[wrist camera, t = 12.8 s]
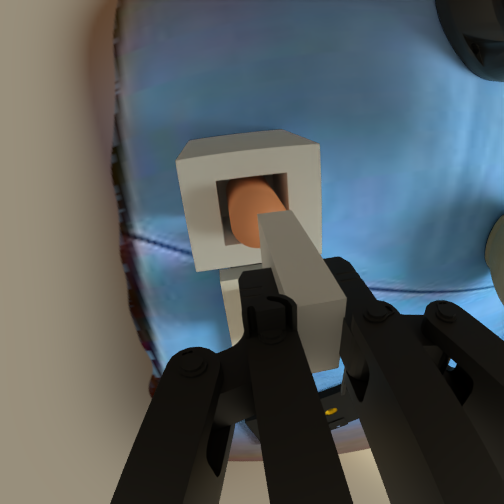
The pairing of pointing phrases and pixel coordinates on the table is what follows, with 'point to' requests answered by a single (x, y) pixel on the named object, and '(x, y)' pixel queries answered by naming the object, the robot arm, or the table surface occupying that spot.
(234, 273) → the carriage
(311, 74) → the table surface
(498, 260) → the planter bowl
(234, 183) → the plunger
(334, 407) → the black cassette tape
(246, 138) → the housing
